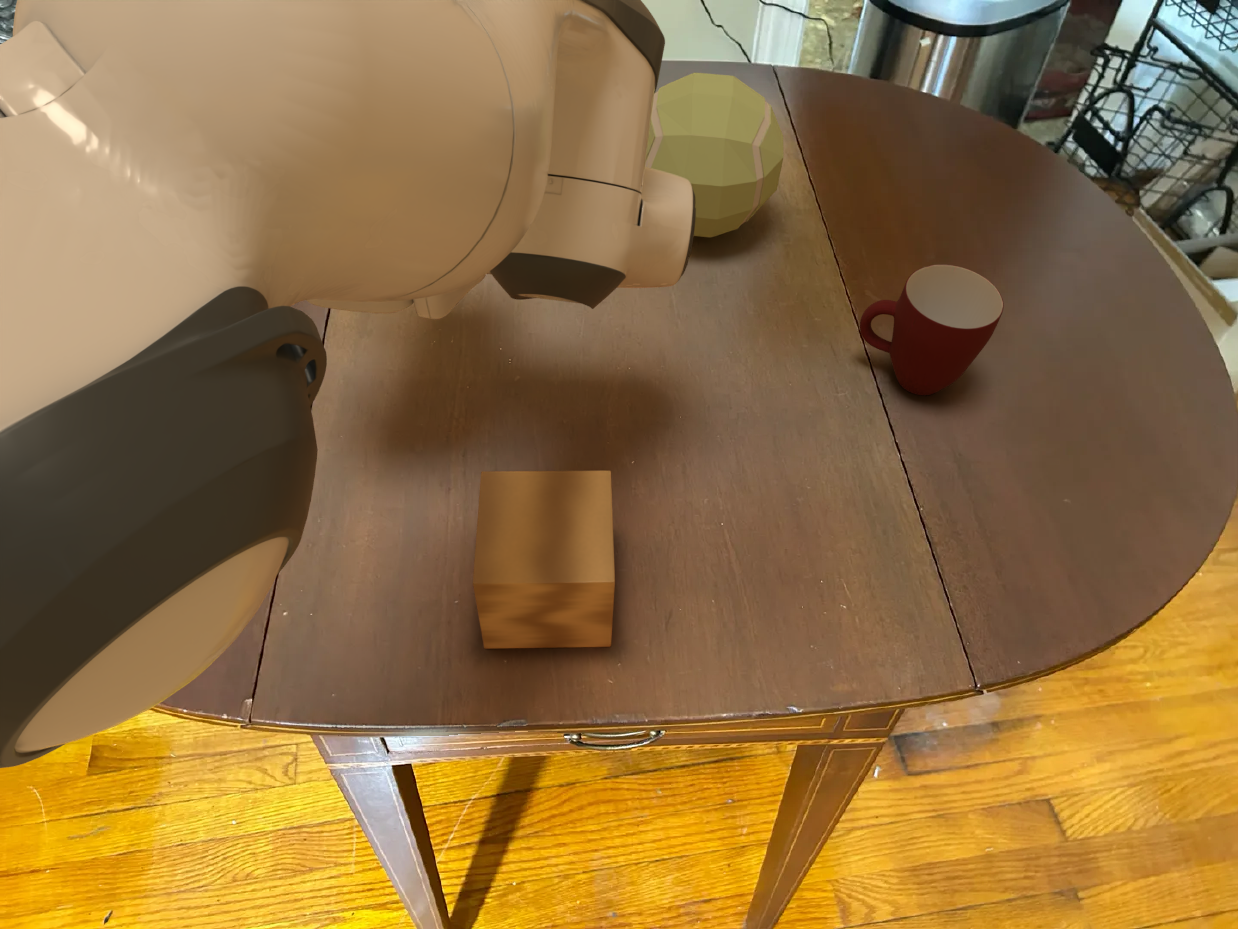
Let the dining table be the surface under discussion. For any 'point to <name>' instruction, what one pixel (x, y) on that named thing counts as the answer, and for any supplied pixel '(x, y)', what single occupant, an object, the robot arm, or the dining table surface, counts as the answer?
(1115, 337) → the dining table surface
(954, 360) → the mug
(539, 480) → the block stand
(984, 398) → the dining table surface
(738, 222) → the decorative sphere
